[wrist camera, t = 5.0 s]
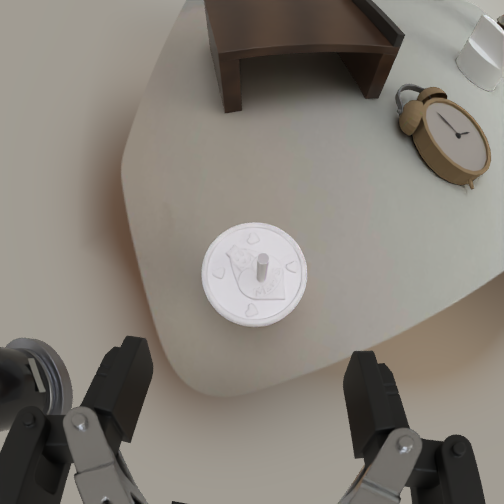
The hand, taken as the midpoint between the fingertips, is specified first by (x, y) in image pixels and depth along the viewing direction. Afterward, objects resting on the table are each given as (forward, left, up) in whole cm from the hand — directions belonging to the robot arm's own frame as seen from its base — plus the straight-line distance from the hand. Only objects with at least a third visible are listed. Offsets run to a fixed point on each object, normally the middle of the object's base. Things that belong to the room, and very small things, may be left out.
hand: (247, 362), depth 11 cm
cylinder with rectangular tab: (+49, +34, -16) cm, 62 cm away
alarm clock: (+28, +19, -16) cm, 37 cm away
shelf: (+12, +33, -15) cm, 38 cm away
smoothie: (+1, +5, -16) cm, 16 cm away
